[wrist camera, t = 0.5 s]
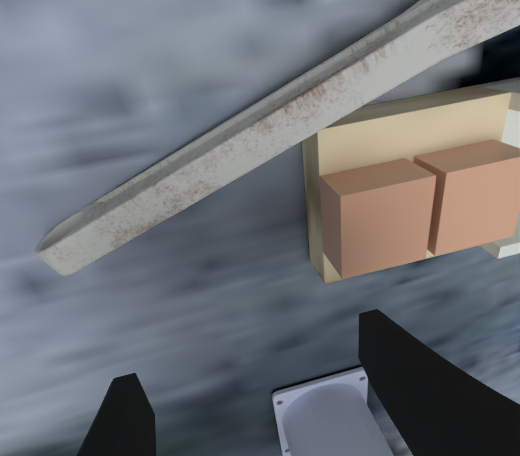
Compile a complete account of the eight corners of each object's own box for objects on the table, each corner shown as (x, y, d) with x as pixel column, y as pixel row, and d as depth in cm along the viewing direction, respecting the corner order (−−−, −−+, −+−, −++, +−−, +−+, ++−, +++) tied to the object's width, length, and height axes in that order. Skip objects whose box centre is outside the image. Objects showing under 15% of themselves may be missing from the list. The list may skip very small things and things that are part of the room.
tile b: (398, 234, 20) (425, 258, 18) (323, 252, 20) (341, 279, 17) (404, 158, 18) (436, 175, 16) (319, 176, 17) (340, 196, 15)
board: (451, 226, 24) (478, 245, 22) (310, 260, 23) (324, 284, 21) (474, 85, 20) (511, 92, 17) (300, 118, 18) (317, 130, 16)
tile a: (477, 215, 21) (513, 236, 19) (406, 232, 20) (434, 256, 18) (493, 139, 19) (535, 153, 16) (413, 156, 18) (446, 173, 16)
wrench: (64, 203, 21) (595, -128, 16) (87, 225, 22) (595, -79, 16) (-6, 300, 14) (890, -227, 9) (32, 326, 15) (862, -135, 10)
